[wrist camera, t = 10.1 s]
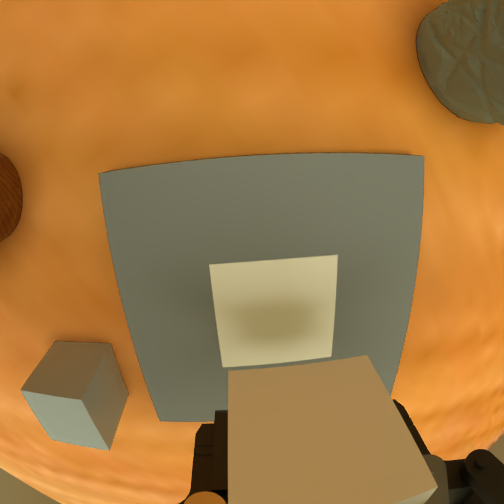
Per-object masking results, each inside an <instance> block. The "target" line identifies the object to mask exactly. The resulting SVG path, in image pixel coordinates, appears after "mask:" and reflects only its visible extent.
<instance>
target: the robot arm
mask: <svg viewBox="0 0 504 504" xmlns="http://www.w3.org/2000/svg"><path fill="white" fill-rule="evenodd" d="M393 402H394V404H395V405H396V407H397V409H398V411H399V413H400V415H401V416H402V418H403V420H404V422H405V424H406V426H407V428H408V429H409V431H410V433H411V435H412V437H413V439H414V441H415V443H416V444H417V446H418V448H419V450H420V452H421V454H422V456H423V458H424V460H425V462H426V464H427V466H428V468H429V470H430V472H431V474H432V476H433V478H434V480H435V482H436V484H437V486H438V488H437V489H436V490H435V491H434V493H433V494H432V495H431V496H430V497H429V499H428V500H427V501H426V502H425V503H424V504H504V464H503V463H502V462H500V461H499V460H498V459H497V458H496V457H495V456H494V455H493V454H492V453H491V452H489V451H487V450H484V449H478V450H474V451H472V452H471V453H470V454H469V455H468V456H467V458H466V459H460V460H451V461H444V460H442V459H441V458H440V457H438V456H436V455H431V454H430V452H429V451H428V449H427V447H426V445H425V444H424V442H423V440H422V438H421V436H420V434H419V433H418V431H417V429H416V427H415V426H414V425H413V422H412V420H411V418H409V415H408V413H407V411H406V410H405V408H404V406H402V405H401V404H400V403H398V402H397V401H396V400H395V399H394V400H393ZM179 504H228V410H215V419H214V424H202V425H201V427H200V428H199V430H198V431H197V433H196V437H195V447H194V457H193V468H192V480H191V489H190V493H189V495H188V496H187V498H186V499H185V500H183V501H182V502H181V503H179Z"/></svg>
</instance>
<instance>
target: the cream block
mask: <svg viewBox="0 0 504 504" xmlns="http://www.w3.org/2000/svg"><path fill="white" fill-rule="evenodd" d="M437 488H438V486H437V484H436V482H435V480H434V478H433V476H432V474H431V472H430V470H429V468H428V466H427V464H426V462H425V460H424V458H423V456H422V454H421V452H420V450H419V448H418V446H417V444H416V443H415V441H414V439H413V437H412V435H411V433H410V431H409V429H408V428H407V426H406V424H405V422H404V420H403V418H402V416H401V415H400V413H399V411H398V409H397V407H396V405H395V404H394V402H393V400H392V398H391V396H390V395H389V393H388V391H387V389H386V388H385V386H384V384H383V382H382V380H381V379H380V377H379V375H378V373H377V372H376V370H375V368H374V366H373V365H372V363H371V361H370V360H369V358H368V356H367V355H364V356H359V357H352V358H346V359H340V360H333V361H326V362H318V363H310V364H302V365H293V366H283V367H273V368H261V369H248V370H232V371H228V504H424V503H425V502H426V501H427V500H428V499H429V497H430V496H431V495H432V494H433V493H434V491H435V490H436V489H437Z"/></svg>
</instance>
